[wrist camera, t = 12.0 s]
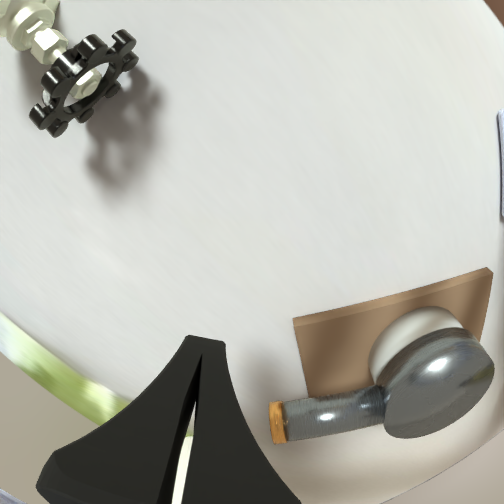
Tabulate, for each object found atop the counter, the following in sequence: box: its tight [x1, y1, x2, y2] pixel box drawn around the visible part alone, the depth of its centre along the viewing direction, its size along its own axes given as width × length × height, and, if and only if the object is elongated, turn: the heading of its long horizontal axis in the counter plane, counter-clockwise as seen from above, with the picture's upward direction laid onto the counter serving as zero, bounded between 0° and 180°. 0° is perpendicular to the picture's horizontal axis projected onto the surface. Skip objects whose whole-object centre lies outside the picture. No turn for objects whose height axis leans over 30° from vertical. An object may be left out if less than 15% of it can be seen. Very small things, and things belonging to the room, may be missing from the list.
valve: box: [0, 0, 139, 138], centre depth 11 cm, size 7×7×12 cm
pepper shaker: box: [172, 436, 193, 504], centre depth 24 cm, size 5×5×11 cm
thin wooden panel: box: [293, 267, 493, 398], centre depth 22 cm, size 16×14×4 cm
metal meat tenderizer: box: [269, 327, 495, 444], centre depth 18 cm, size 16×9×3 cm, turn 101°
